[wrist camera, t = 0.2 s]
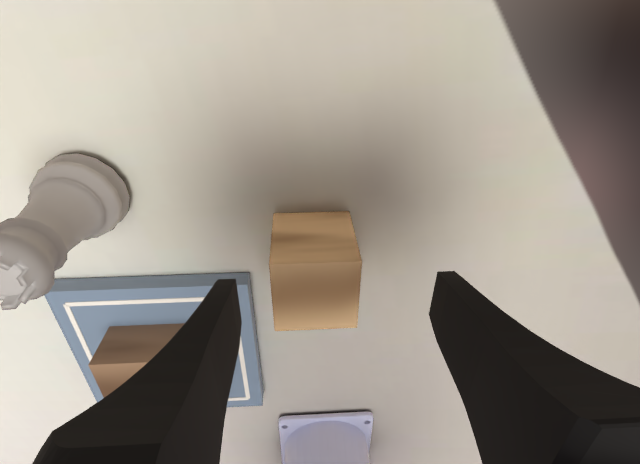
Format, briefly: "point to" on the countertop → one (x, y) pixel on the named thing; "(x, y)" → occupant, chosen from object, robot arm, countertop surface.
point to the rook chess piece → (57, 223)
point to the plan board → (146, 326)
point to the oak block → (314, 271)
